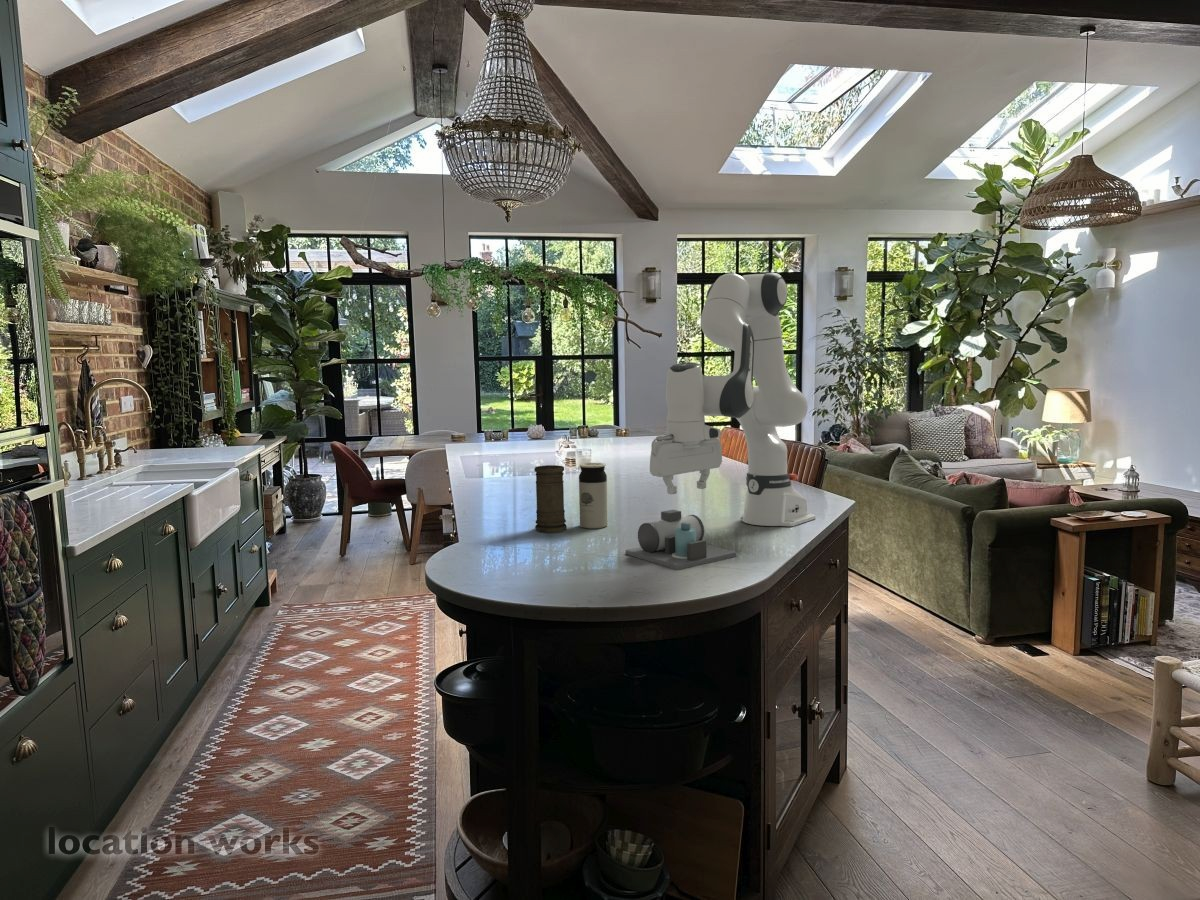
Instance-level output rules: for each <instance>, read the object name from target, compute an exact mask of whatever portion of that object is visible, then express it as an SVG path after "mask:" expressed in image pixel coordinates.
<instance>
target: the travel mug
mask: <svg viewBox="0 0 1200 900" xmlns="http://www.w3.org/2000/svg"><path fill="white" fill-rule="evenodd" d="M606 465H607V464H606V463H603V462H584V463H580V464H579V467H580V473H579V474H578V493H579V495H578V497H579V500H578V501H579V505H578V506H579V526H580V527H581V528H583V529H589V530H593V529H594V530H595V529H597V528H598V529H603V528H606V527H607V526H608V524H609V523H608V476H607V474H606V471H605V469H606V468H605V467H606Z"/></svg>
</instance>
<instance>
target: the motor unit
mask: <svg viewBox="0 0 1200 900" xmlns="http://www.w3.org/2000/svg"><path fill="white" fill-rule="evenodd" d="M681 523H690V528H694V529H696V541H695V542H690V543H687V557H679V556H676V555H675V529H677V528H681ZM704 527H705V526H704V523H703V521H702V519H701V518H700V517H699V516H698V515H695V514H690V515H686V516H682V511H681V510H677V509H669V510H664V511H663V510H662V511H661V512H660V520H657V521H652V522H644V523H642V524H641V525H640V526H639V527H638V530H637V541H638V543H639V544H638V545H639V546H640V547H639V546H638V547H634V548H633V547H632V548H628V549H625V555H628V556H631V557H635V558H638V559H642V560H644V561H648V562H651V563H654V564H656V565H657V564H658V565H661V566H664V567H667V568H669V569H670V568H671V569H674V570H682V569H686V568H691V567H695V566H700V565H704V564H708V563H709V564H710V563H713V562H717V561H722V560H726V559H730V558H735V556H736V557H737V551H734V550H729V549H726V548H721V547H718V546H713V545H709V544H707V540H704V539H703V538H704V536H705V528H704Z"/></svg>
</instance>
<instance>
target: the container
mask: <svg viewBox="0 0 1200 900" xmlns="http://www.w3.org/2000/svg"><path fill="white" fill-rule="evenodd" d="M564 471H565V467H564V466H563V465H557V464H556V465H554V464H553V465H552V464H551V465H549V464H548V465H538V466H535V467H534V473H535V478H536V479H535V491H536V493H535V494H536V495H535V496H536V511H535V513H536V520H535V524H536V525H535V527H534V529H535V531H536V532H539V533H542V532H543V533H545V534H554V533H556V534H557V533H563V532H565V531H567V527H568V526H567V524H566V523H567V520H566V518H565V503H564V502H565V498H564V495H565V493H564V491H565V490H564Z"/></svg>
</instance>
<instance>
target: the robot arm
mask: <svg viewBox="0 0 1200 900" xmlns="http://www.w3.org/2000/svg"><path fill="white" fill-rule="evenodd" d="M787 300H788V287H787V282H786V280H785V279H784V277H782V275H780V274H779V273H774V272H765V273H754V274H743V275H742V276H741V275H739V274H737V273H725V274H723V275H720V276H718V278H717V279H716V280H715V282H713V283H712V284H711V285H710V286H709V287H708V290H707V292H706V299H705V302H704V305H703V309H702V312H701V317H700V327H701V330H702V332H703V334H704V336H705V337H706V338H707V339H708V340H709V341H710V342H711V343H713V344H714V345H715V344H716V346H720V347H724V348H726V349H729V350H731V351H734V356H733V357H734V358H733V370H732V372H731V373H729V374H726V375H704V374H703V372H702V367H701V365H700V363H697V362H692V361H691V362H689V361H687V362H680V363H676V364H673V365H671V366H669V368H668V370H667V375H666V383H665V384H666V386H665V403H666V407H667V415H666V434H665V435H657V436H656V437H655V438H654V439H653V440H652V442H651V446H650V447H651V448H650V458H649V473H650V474H651V476H653V477H658V478H662V480H663V482H664V484H665V486H666V492H667V494H668V495H675V494H677V493H678V491H677V490H678V488H677V487H678V486H677V485H676V486H675V485H674V483H673V480H674V476H675V475H682V474H688V473H694V472H699V474H700V476H699V480H697V481H696V488H697V489H700V490H702V489H706V488H707V481H708V479H709V477H710V474H711V473H710V471H711V470H712V469H719V468H720V467H721V465H722V464H723V463H722V462H723V449H722V448H723V446H722V442H721V440H720V439H719V438H721V437H722V436H721V435H722V431H721V429H719V428H717V427H714V426H711V425H707V424H705V423H706V422H705V416H706V417H724V418H725V417H727V418H734V419H736V420H737V422H739V424H740V425H739V426H741V429H742V432H743V433H744V434H743V435H744V437H745V441H746V447H747V472H746V477H745V479H746V481H745V483H746V486H747V490H746V491H745V498H744V506H743V507H744V508H743V512H742V514H741V518H742V522H743V523H745V524H750V525H754V526H761V527H762V526H766V527H796V526H797V525H801V524H803V523H806V522H807V523H808V522H809V521H813V520H816V515H815V514H813V513H810V512H808V504H807V499H806V498H805V497H804V496H803V495H802V494H801V493H800V492H799V491H797V490H796V489H795V487H793V486H792V481H794V482H796V481H797V479H798V474H796V473H788V446H787V445H786V443H785V442H784V440H782V439H781V438H780V436H779V434H778V432H777V428H776V427H780V428H784V427H786V428H787V427H790V426H796V425H798V424H801V423H802V422H803V421H804V419H805V418H806V415H807V413H808V408H809V407H808V401H807V397H806V396H805V395H804V394H803V393H802V392H801V391H800V390H799V389H798V388H797V386H796V385H795V384H794V382H793V380H792V378H791V376H790V374H789V371H788V368H787V366H786V361H785V353H784V344H783V343H784V342H783V333H782V327H781V326H782V324H781V321H780V316H779V313H780V311H782V310H783V308H784V307H785V305H786V303H787ZM753 379H754V380H755V383H756V385H757V386H754V383H753V381H754V380H753Z"/></svg>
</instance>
